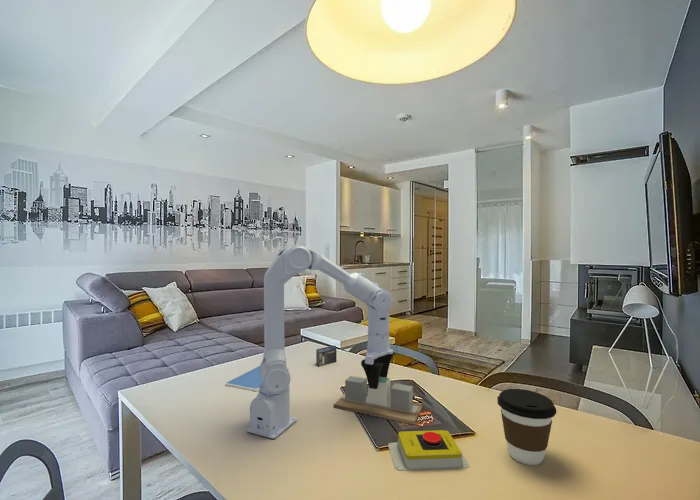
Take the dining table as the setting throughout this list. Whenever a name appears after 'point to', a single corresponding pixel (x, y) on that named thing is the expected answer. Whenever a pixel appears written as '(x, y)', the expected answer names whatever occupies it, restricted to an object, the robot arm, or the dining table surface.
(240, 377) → the tablet computer
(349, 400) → the rail
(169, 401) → the dining table surface
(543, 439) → the coffee cup
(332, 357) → the mini dv tape
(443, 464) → the emergency button
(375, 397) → the block
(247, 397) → the dining table surface
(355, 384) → the block
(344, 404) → the board
